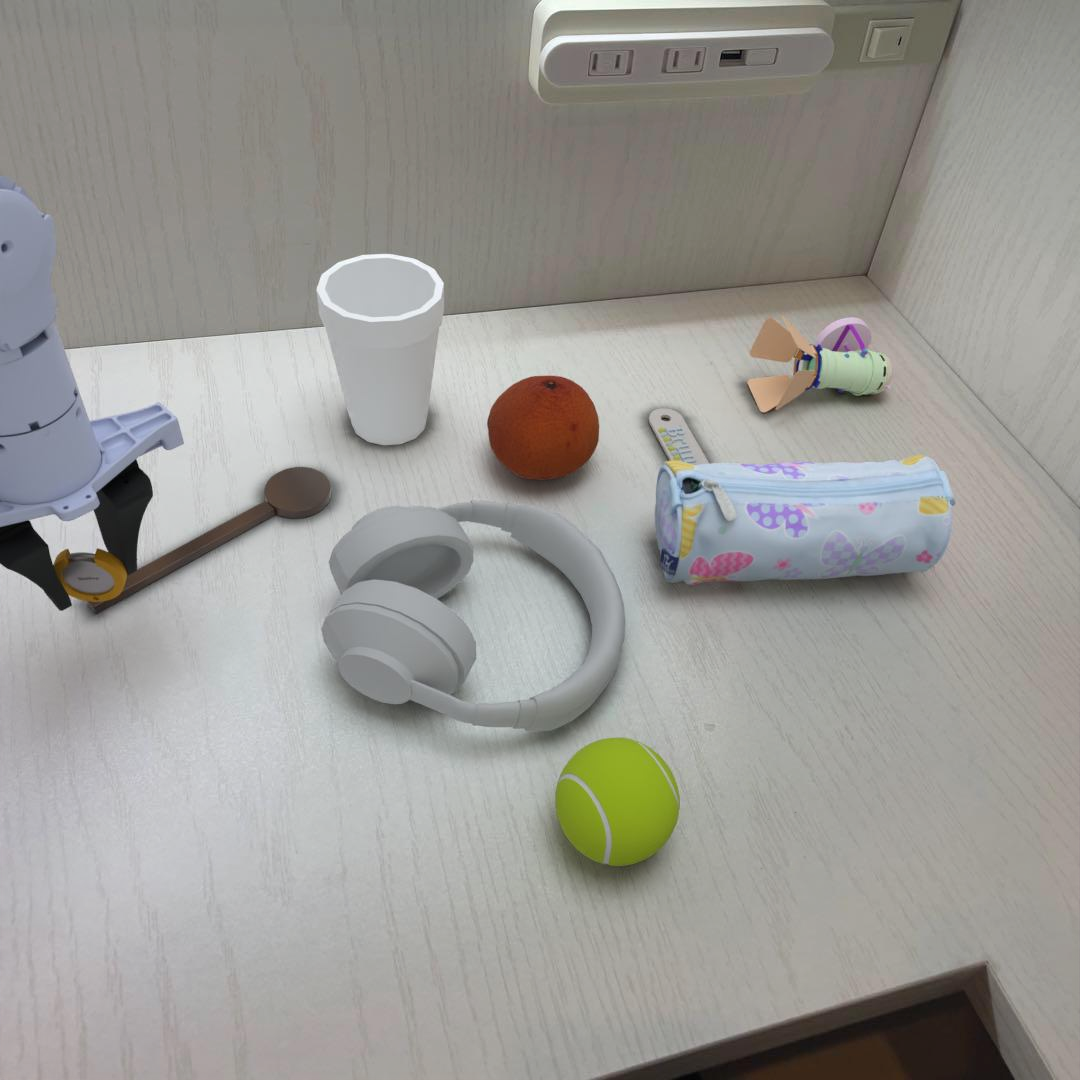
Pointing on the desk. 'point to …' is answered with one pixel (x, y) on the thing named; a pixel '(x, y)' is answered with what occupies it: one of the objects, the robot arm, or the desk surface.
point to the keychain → (676, 437)
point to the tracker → (90, 575)
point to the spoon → (238, 525)
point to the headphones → (437, 631)
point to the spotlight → (819, 362)
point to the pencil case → (800, 519)
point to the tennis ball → (617, 801)
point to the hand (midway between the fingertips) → (91, 581)
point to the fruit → (543, 427)
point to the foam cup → (383, 341)
